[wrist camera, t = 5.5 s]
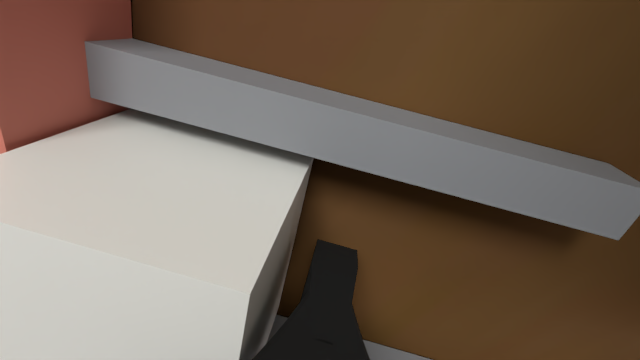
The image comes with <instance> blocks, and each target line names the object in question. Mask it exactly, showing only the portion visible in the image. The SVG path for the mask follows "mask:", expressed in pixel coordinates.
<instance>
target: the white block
mask: <svg viewBox="0 0 640 360" xmlns="http://www.w3.org/2000/svg"><path fill="white" fill-rule="evenodd" d="M313 159H314V158H312V157H309V156H305V155H301V154H298V153H294V152H290V151H287V150H283V149H279V148H275V147H272V146H268V145H264V144H261V143H257V142H253V141H250V140H246V139H242V138H239V137H235V136H231V135H227V134H224V133H220V132H216V131H213V130H209V129H205V128H202V127H198V126H194V125H191V124H187V123H183V122H179V121H176V120H172V119H168V118H165V117H161V116H157V115H154V114H150V113H146V112H142V111H139V110H135V109H128V110H126V111H123V112H120V113H117V114H114V115H111V116H108V117H105V118H103V119H100V120H97V121H94V122H91V123H88V124H85V125H82V126H80V127H77V128H74V129H71V130H68V131H65V132H62V133H60V134H57V135H54V136H51V137H48V138H45V139H42V140H39V141H37V142H34V143H31V144H28V145H25V146H22V147H19V148H16V149H14V150H11V151H8V152H5V153H2V154H0V360H252V359H253V358H254V357H255V356H256V354H257V353H258V352H259V351H260V350H261V349H262V348H263V347H264V346H265V345H266V343H267V340H268V337H269V335H270V332H271V329H272V326H273V323H274V320H275V317H276V314H277V311H278V308H279V304H280V300H281V295H282V291H283V287H284V283H285V278H286V274H287V270H288V265H289V261H290V257H291V253H292V248H293V244H294V240H295V236H296V231H297V227H298V223H299V219H300V214H301V210H302V206H303V202H304V197H305V193H306V189H307V184H308V180H309V176H310V172H311V167H312V163H313Z"/></svg>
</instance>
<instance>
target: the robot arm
mask: <svg viewBox="0 0 640 360" xmlns="http://www.w3.org/2000/svg"><path fill="white" fill-rule="evenodd" d="M357 269H358V259H357V250H354V249H350V248H347V247H343V246H340V245H336V244H333V243H329V242H326V241H322V240H319V239H318V240H317V244H316V247H315V251H314V255H313V258H312V262H311V265H310V269H309V273H308V276H307V280H306V283H305V287H304V291H303V294H302V298H301V302H300V303H299V304H298V306H297V307H296V308H295V310H294V311H293V312H292V313H291V315H290V316H289V317H288V319H287V320H286V321H285V322H284V324H283V325H282V326H281V327H280V328H279V330H278V331H277V332H276V333H275V334H274V336H273V337H272V338H271V339H270V340H269V341H268V342H267V343H266V345H265V346H264V347H263V348H262V349H261V350H260V351H259V352H258V353H257V354H256V356H255V357H254V358H253V359H252V360H370V358H369V356H368V353H367V350H366V347H365V344H364V341H363V338H362V335H361V333H360V330H359V326H358V323H357V320H356V317H355V313H354V309H353V306H352V298H353V292H354V287H355V281H356V275H357Z"/></svg>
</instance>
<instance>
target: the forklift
mask: <svg viewBox="0 0 640 360" xmlns="http://www.w3.org/2000/svg"><path fill="white" fill-rule="evenodd" d="M128 109H135V110H139V111H142V112H146V113H150V114H154V115H157V116H161V117H165V118H168V119H172V120H176V121H179V122H183V123H187V124H191V125H194V126H198V127H202V128H205V129H209V130H213V131H216V132H220V133H224V134H227V135H231V136H235V137H239V138H242V139H246V140H250V141H253V142H257V143H261V144H264V145H268V146H272V147H275V148H279V149H283V150H287V151H290V152H294V153H298V154H301V155H305V156H309V157H312V158H316V159H320V160H323V161H327V162H331V163H335V164H338V165H342V166H346V167H349V168H353V169H357V170H360V171H364V172H368V173H372V174H375V175H379V176H383V177H386V178H390V179H394V180H397V181H401V182H405V183H408V184H412V185H416V186H420V187H423V188H427V189H431V190H434V191H438V192H442V193H445V194H449V195H453V196H456V197H460V198H464V199H468V200H471V201H475V202H479V203H482V204H486V205H490V206H493V207H497V208H501V209H505V210H508V211H512V212H516V213H519V214H523V215H527V216H530V217H534V218H538V219H541V220H545V221H549V222H553V223H556V224H560V225H564V226H567V227H571V228H575V229H578V230H582V231H586V232H589V233H593V234H597V235H601V236H604V237H608V238H612V239H615V240H619V239H620V238H621V237H622V236H623V234H624V233H625V232H626V231H627V230H628V228H629V227H630V226H631V225H632V224H633V222H634V221H635V220H636V219H637V218H638V216H639V215H640V182H639V181H637V180H635V179H634V178H632V177H630V176H629V175H627V174H625V173H624V172H622V171H620V170H619V169H617V168H615V167H614V166H612V165H610V164H609V163H605V162H601V161H598V160H594V159H590V158H586V157H582V156H578V155H575V154H571V153H567V152H563V151H559V150H556V149H552V148H548V147H544V146H540V145H537V144H533V143H529V142H525V141H521V140H517V139H514V138H510V137H506V136H502V135H498V134H495V133H491V132H487V131H483V130H479V129H476V128H472V127H468V126H464V125H460V124H457V123H453V122H449V121H445V120H441V119H437V118H434V117H430V116H426V115H422V114H418V113H415V112H411V111H407V110H403V109H399V108H396V107H392V106H388V105H384V104H380V103H376V102H373V101H369V100H365V99H361V98H357V97H354V96H350V95H346V94H342V93H338V92H335V91H331V90H327V89H323V88H319V87H316V86H312V85H308V84H304V83H300V82H296V81H293V80H289V79H285V78H281V77H277V76H274V75H270V74H266V73H262V72H258V71H255V70H251V69H247V68H243V67H239V66H235V65H232V64H228V63H224V62H220V61H216V60H213V59H209V58H205V57H201V56H197V55H194V54H190V53H186V52H182V51H178V50H174V49H171V48H167V47H163V46H159V45H155V44H152V43H148V42H144V41H140V40H136V39H133V38H132V19H131V0H0V154H2V153H5V152H8V151H11V150H14V149H16V148H19V147H22V146H25V145H28V144H31V143H34V142H37V141H39V140H42V139H45V138H48V137H51V136H54V135H57V134H60V133H62V132H65V131H68V130H71V129H74V128H77V127H80V126H82V125H85V124H88V123H91V122H94V121H97V120H100V119H103V118H105V117H108V116H111V115H114V114H117V113H120V112H123V111H126V110H128ZM287 319H288V318H287V317H283V316H280V315H277V314H276V317H275V320H274V323H273V326H272V329H271V332H270V335H269V337H268V340H267V342H268V341H269V340H270V339H271V338H272V337H273V336H274V334H275V333H276V332H277V331H278V330H279V328H280V327H281V326H282V325H283V324H284V322H285V321H286V320H287ZM363 341H364V344H365V347H366V350H367V353H368V356H369V358H370V360H432V359H428V358H425V357H421V356H418V355H415V354H411V353H408V352H404V351H401V350H397V349H394V348H390V347H387V346H383V345H380V344H377V343H373V342H370V341H366V340H363Z"/></svg>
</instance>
